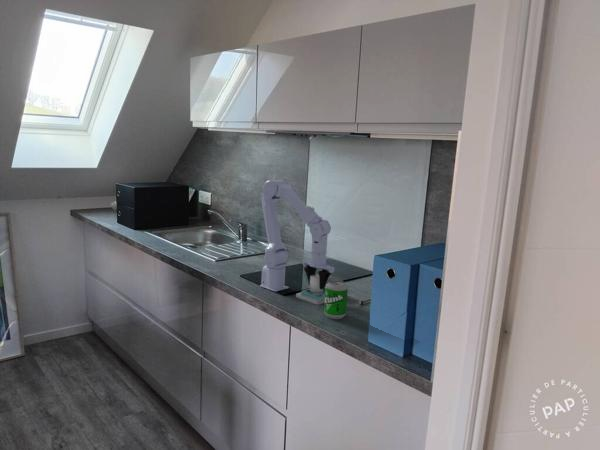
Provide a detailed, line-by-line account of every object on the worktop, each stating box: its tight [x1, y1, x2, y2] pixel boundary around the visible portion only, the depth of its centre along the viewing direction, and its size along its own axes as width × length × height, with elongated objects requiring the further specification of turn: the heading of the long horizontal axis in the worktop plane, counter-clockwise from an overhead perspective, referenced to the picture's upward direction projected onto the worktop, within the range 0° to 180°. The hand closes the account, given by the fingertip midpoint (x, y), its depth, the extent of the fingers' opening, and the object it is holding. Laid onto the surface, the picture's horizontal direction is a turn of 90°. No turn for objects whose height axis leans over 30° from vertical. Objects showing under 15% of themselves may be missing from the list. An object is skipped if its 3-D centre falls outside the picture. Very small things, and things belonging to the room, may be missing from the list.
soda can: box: [323, 280, 349, 320], centre depth 158 cm, size 8×8×12 cm
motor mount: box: [295, 275, 344, 305], centre depth 178 cm, size 12×18×8 cm, turn 137°
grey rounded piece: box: [309, 273, 323, 293], centre depth 176 cm, size 5×7×6 cm
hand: (316, 286), depth 176 cm, fingers closed on grey rounded piece, 5 cm apart
